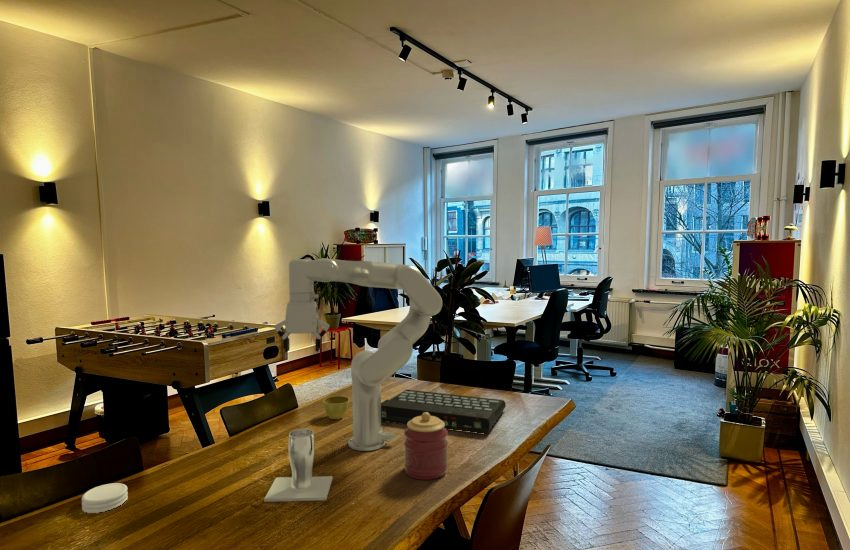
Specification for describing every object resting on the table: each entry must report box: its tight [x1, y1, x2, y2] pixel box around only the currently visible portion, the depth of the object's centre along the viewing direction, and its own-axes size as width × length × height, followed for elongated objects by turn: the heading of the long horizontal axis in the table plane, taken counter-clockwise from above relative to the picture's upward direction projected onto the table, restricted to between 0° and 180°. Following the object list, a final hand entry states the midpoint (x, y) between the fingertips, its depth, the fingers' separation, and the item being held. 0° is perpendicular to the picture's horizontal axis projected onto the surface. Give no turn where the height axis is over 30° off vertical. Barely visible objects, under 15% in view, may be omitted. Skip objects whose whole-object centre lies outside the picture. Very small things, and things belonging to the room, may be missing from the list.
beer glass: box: [288, 428, 316, 492], centre depth 134 cm, size 7×7×15 cm
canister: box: [403, 412, 449, 481], centre depth 145 cm, size 13×13×18 cm
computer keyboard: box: [381, 389, 507, 435], centre depth 194 cm, size 45×28×7 cm, turn 69°
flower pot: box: [322, 395, 350, 420], centre depth 192 cm, size 10×10×7 cm
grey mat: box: [263, 475, 333, 503], centre depth 134 cm, size 16×12×1 cm
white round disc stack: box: [81, 482, 129, 514], centre depth 127 cm, size 10×10×4 cm
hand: (302, 350), depth 157 cm, fingers open, 9 cm apart
